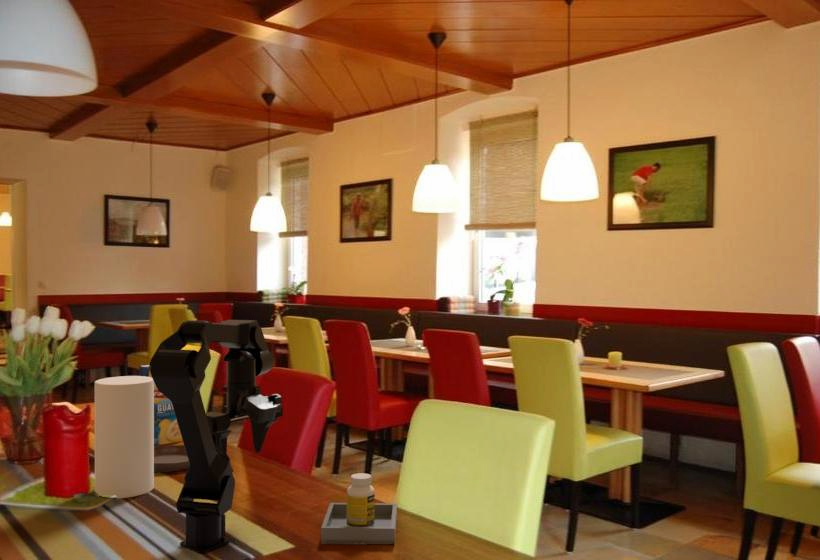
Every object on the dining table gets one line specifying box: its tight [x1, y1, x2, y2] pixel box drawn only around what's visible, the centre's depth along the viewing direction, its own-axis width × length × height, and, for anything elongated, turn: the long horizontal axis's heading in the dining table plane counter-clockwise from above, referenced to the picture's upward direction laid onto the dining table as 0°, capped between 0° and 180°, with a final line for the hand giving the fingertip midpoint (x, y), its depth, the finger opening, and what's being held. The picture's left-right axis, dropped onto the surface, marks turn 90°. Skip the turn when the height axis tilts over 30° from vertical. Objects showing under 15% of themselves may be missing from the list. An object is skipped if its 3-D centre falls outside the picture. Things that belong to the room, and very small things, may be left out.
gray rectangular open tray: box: [320, 502, 398, 545], centre depth 137 cm, size 14×14×3 cm
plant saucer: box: [154, 444, 189, 473], centre depth 181 cm, size 18×18×3 cm
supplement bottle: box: [346, 472, 376, 527], centre depth 137 cm, size 5×5×10 cm
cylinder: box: [94, 375, 155, 499], centre depth 160 cm, size 12×12×25 cm
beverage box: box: [138, 364, 183, 447], centre depth 203 cm, size 7×11×22 cm, turn 133°
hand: (241, 457), depth 144 cm, fingers open, 9 cm apart
